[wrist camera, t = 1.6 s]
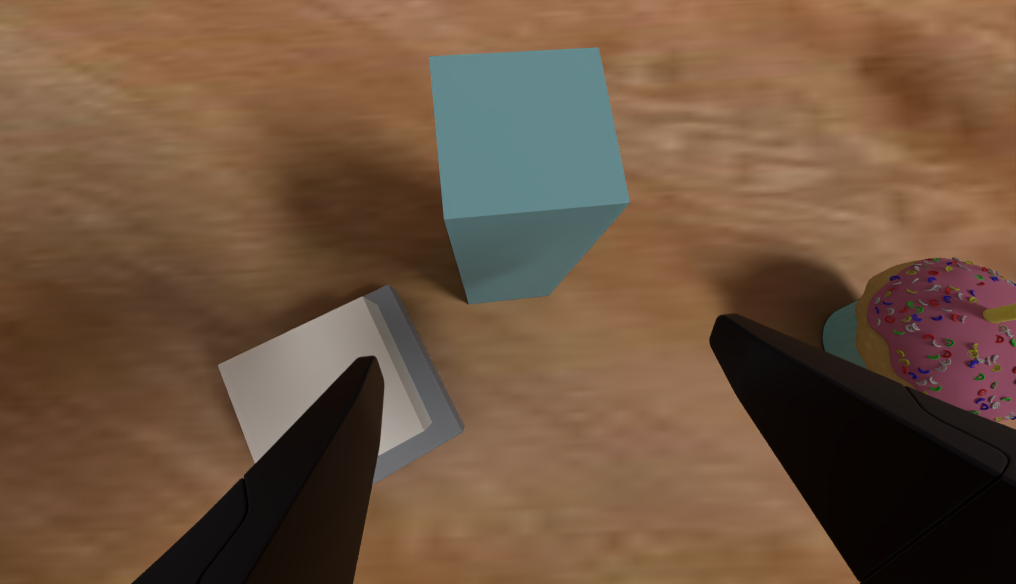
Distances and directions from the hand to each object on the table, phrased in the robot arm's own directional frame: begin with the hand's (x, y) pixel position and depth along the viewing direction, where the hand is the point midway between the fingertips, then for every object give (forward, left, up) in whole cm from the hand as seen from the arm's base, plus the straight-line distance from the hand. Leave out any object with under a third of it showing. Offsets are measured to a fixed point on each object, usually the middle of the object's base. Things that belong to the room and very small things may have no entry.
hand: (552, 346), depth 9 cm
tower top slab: (0, +9, -11) cm, 14 cm away
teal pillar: (+6, -1, -12) cm, 14 cm away
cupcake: (-4, -22, -13) cm, 25 cm away
